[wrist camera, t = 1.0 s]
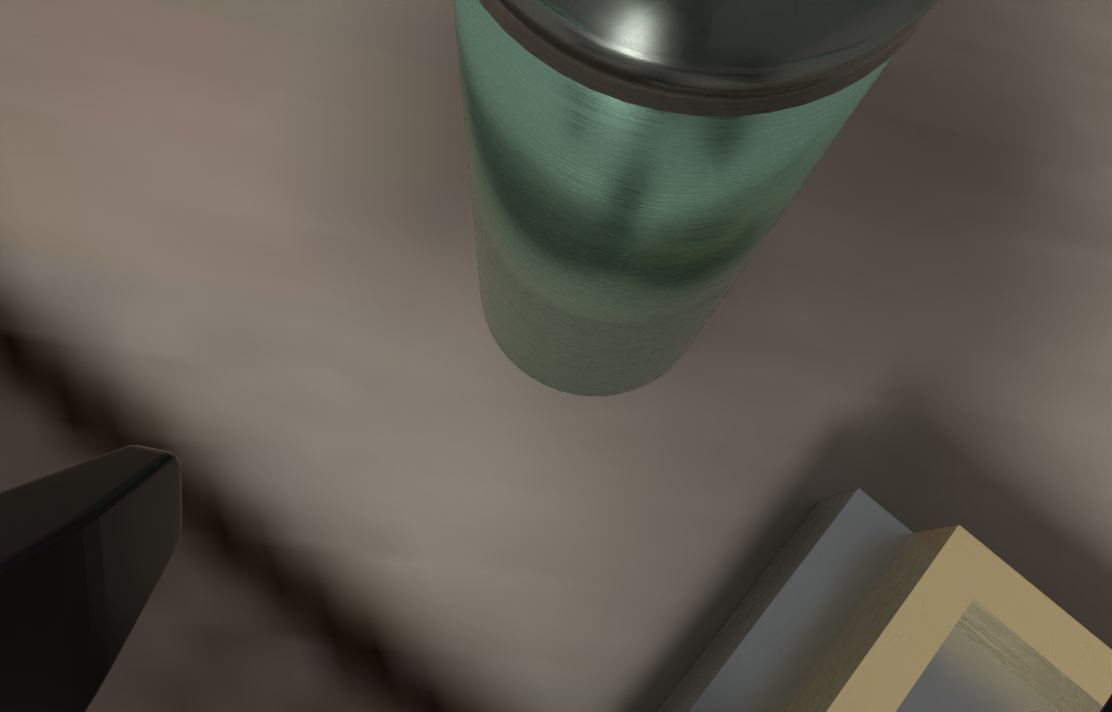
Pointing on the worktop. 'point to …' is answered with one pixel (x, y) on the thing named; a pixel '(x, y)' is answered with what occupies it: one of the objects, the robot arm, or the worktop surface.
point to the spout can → (645, 160)
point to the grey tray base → (894, 629)
